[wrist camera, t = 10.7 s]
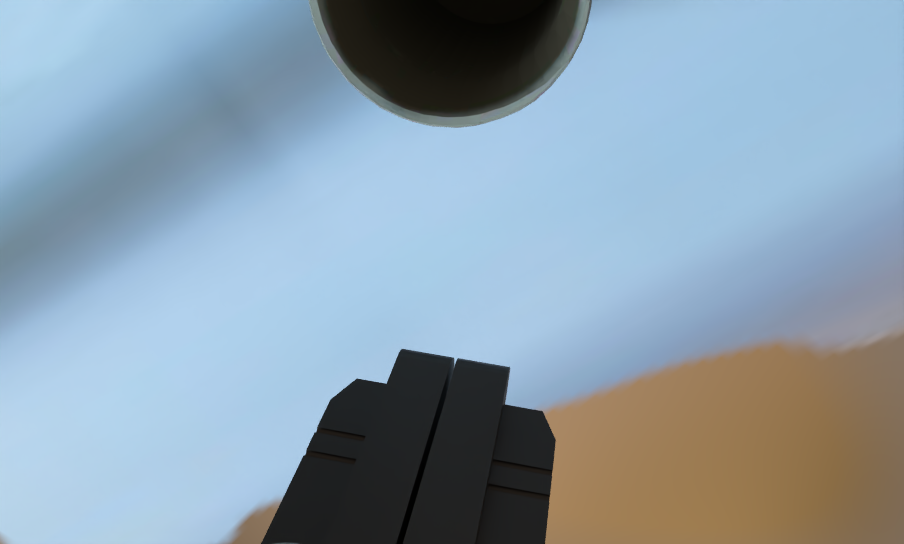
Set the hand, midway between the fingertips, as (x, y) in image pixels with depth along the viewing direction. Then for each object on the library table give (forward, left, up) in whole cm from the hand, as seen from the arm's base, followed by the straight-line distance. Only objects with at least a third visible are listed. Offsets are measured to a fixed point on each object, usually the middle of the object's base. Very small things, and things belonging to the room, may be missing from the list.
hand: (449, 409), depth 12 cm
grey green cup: (-4, +1, -33) cm, 33 cm away
